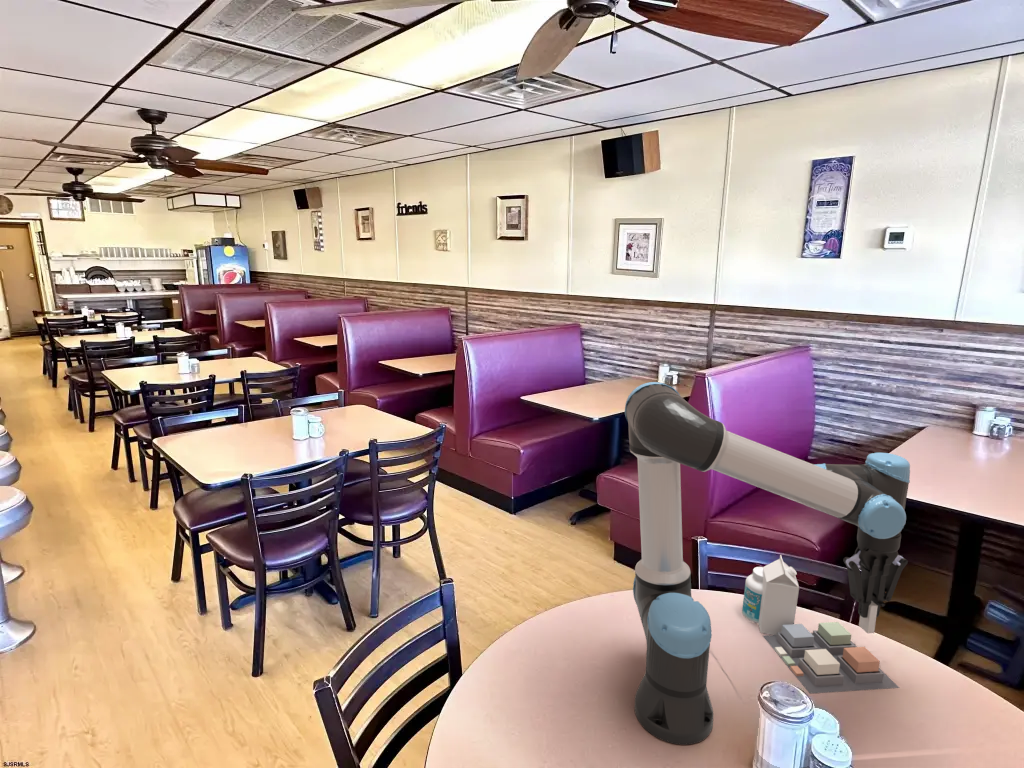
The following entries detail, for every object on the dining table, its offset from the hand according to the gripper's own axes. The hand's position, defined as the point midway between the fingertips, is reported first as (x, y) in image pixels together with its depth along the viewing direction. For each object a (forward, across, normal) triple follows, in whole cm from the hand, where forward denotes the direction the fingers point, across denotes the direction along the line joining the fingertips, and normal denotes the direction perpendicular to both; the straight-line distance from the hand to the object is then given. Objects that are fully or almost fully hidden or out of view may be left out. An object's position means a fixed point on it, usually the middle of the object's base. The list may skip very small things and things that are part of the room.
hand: (866, 629), depth 122 cm
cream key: (+9, -9, 0) cm, 13 cm away
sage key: (+9, 0, +9) cm, 12 cm away
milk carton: (+12, -10, +17) cm, 23 cm away
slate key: (+9, -9, +9) cm, 16 cm away
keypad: (+12, -5, +5) cm, 13 cm away
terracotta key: (+9, 0, 0) cm, 9 cm away
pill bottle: (+12, -12, +22) cm, 28 cm away
